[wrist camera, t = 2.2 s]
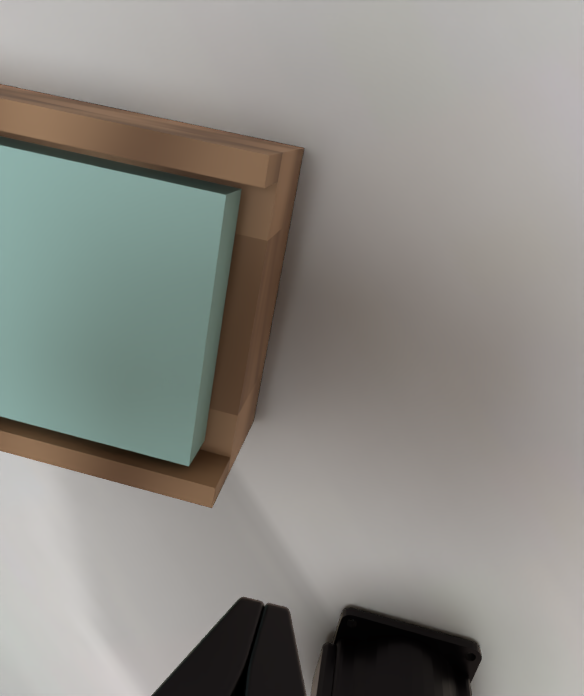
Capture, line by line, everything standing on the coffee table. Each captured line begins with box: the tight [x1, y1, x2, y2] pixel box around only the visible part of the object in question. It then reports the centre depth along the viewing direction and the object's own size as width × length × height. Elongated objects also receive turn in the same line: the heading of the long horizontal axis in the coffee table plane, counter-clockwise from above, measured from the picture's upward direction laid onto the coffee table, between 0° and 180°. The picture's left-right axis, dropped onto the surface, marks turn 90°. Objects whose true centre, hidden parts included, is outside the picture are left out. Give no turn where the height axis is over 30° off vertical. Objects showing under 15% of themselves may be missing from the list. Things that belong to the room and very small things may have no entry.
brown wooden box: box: [0, 84, 304, 508], centre depth 19 cm, size 18×11×6 cm, turn 79°
